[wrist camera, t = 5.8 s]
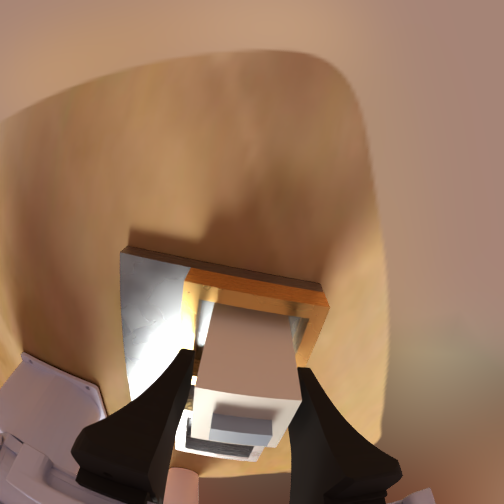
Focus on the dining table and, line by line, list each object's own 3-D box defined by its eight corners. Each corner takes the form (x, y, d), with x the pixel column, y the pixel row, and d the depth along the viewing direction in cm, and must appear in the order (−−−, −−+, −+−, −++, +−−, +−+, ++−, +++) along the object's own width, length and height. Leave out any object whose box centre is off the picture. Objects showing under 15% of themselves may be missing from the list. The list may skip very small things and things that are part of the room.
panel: (138, 417, 21) (131, 437, 18) (127, 245, 15) (107, 263, 12) (256, 440, 21) (256, 461, 19) (319, 283, 15) (330, 307, 13)
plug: (206, 355, 16) (188, 450, 10) (214, 302, 15) (190, 403, 8) (271, 365, 16) (276, 460, 10) (288, 314, 15) (304, 416, 9)
